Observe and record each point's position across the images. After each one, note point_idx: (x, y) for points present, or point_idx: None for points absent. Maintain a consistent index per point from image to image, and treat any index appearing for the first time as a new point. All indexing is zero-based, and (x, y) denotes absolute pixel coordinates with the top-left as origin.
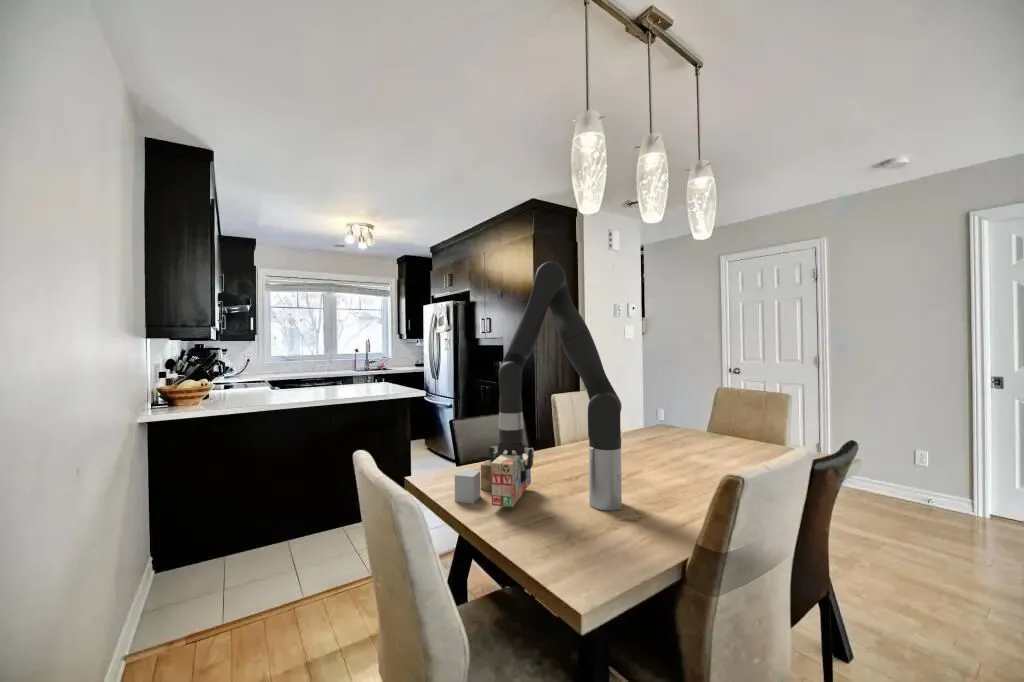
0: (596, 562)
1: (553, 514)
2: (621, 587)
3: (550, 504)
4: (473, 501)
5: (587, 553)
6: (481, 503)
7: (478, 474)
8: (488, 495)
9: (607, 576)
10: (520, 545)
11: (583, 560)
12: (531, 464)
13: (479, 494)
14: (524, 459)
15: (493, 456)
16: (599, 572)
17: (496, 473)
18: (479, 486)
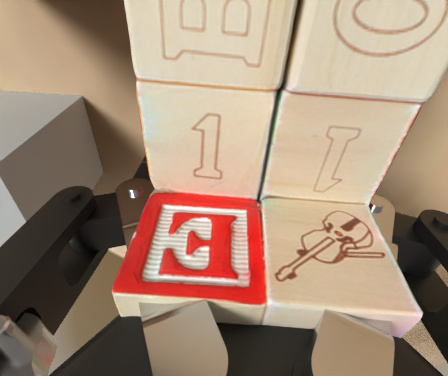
0: (428, 339)
1: (408, 208)
2: (435, 364)
3: (427, 128)
4: (100, 177)
5: (424, 326)
6: (131, 167)
7: (20, 186)
8: (112, 74)
9: (428, 355)
10: None
11: (407, 337)
12: (443, 283)
13: (79, 113)
14: (417, 89)
15: (60, 321)
16: (420, 351)
17: None
18: (58, 130)
